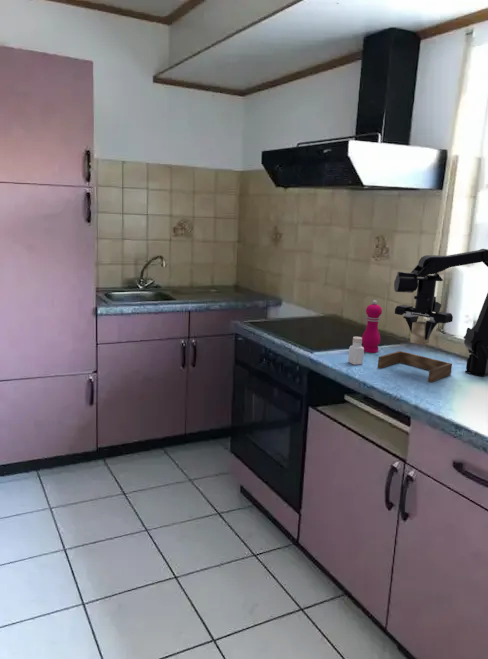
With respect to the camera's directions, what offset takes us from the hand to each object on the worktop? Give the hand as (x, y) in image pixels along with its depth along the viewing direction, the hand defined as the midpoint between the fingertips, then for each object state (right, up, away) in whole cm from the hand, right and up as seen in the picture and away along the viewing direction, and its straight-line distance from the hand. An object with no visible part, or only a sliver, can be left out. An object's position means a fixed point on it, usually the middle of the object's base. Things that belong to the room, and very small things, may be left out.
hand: (420, 338), depth 191 cm
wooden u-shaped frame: (-2, -11, +1) cm, 12 cm away
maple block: (0, -2, 0) cm, 2 cm away
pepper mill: (-11, -5, +26) cm, 29 cm away
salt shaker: (-21, -9, +8) cm, 24 cm away
